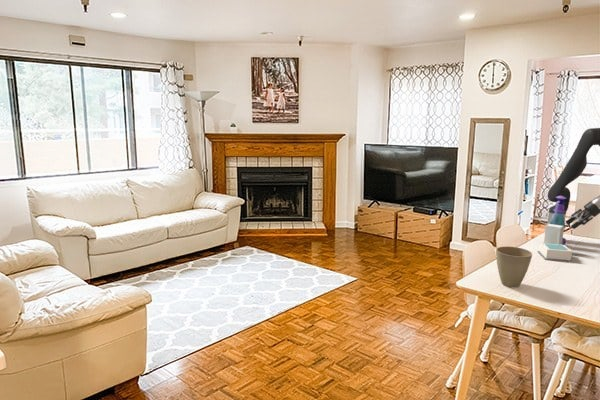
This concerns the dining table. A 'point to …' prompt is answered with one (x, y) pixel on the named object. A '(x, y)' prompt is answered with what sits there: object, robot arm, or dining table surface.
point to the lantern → (559, 214)
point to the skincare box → (553, 234)
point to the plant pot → (512, 264)
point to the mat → (551, 259)
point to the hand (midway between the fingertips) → (569, 225)
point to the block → (555, 251)
